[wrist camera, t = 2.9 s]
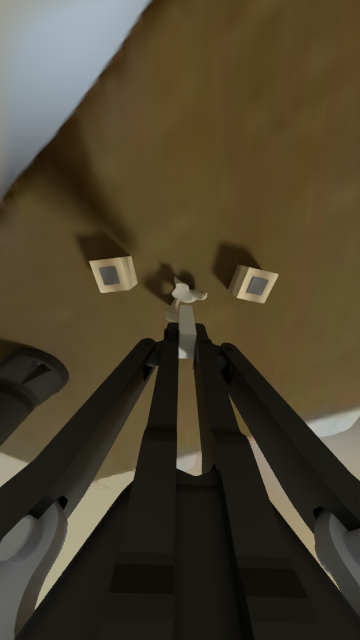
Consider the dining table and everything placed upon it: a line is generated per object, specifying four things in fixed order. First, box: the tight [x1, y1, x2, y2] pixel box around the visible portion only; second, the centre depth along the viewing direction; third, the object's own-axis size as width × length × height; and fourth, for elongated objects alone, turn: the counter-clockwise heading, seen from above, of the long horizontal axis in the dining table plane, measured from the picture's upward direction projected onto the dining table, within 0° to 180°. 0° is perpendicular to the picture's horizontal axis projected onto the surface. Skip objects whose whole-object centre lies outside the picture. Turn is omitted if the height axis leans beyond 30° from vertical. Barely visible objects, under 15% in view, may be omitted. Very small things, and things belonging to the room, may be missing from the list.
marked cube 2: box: [89, 256, 138, 293], centre depth 24 cm, size 5×5×5 cm
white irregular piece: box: [164, 277, 208, 323], centre depth 25 cm, size 9×6×10 cm
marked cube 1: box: [228, 265, 279, 303], centre depth 25 cm, size 5×5×5 cm
